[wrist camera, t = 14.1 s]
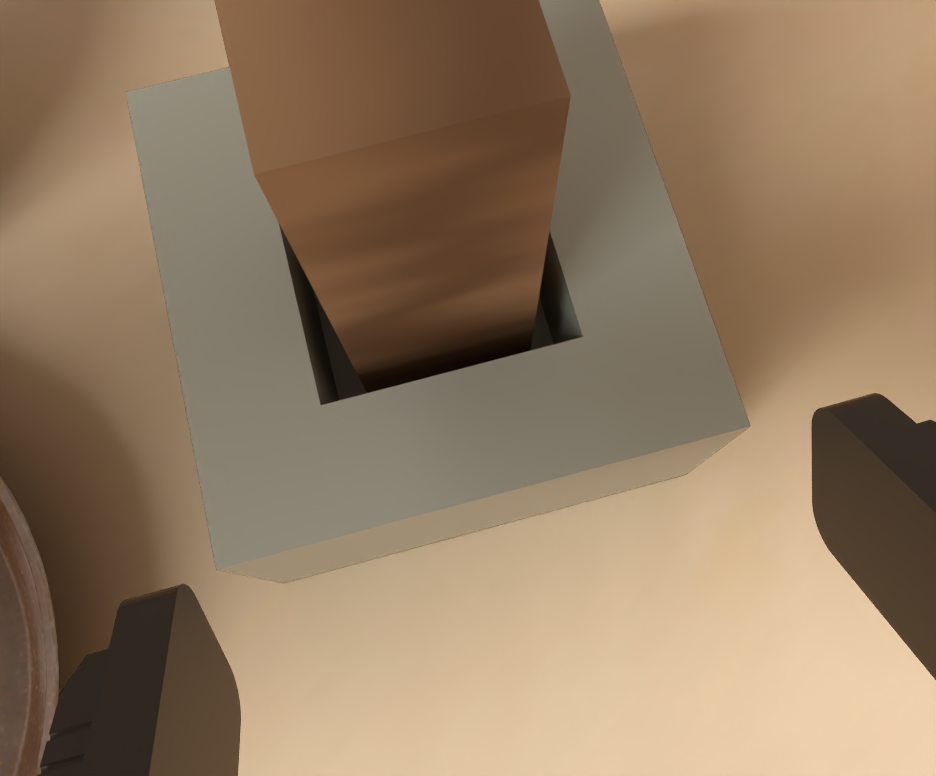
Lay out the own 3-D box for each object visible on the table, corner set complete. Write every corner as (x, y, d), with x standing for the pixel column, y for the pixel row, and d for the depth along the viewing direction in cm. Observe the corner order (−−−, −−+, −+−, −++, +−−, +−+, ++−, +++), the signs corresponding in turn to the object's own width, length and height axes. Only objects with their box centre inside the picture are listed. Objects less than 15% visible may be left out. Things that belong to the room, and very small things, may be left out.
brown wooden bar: (374, 406, 22) (254, 174, 11) (338, 263, 24) (194, -91, 12) (528, 365, 23) (570, 96, 11) (486, 225, 24) (485, -157, 12)
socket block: (283, 583, 23) (216, 569, 18) (205, 210, 26) (125, 92, 20) (686, 474, 24) (750, 426, 18) (568, 119, 27) (591, -21, 21)
